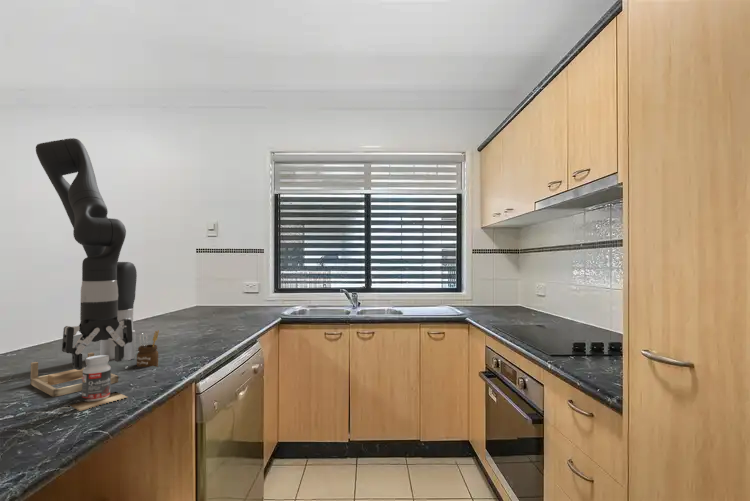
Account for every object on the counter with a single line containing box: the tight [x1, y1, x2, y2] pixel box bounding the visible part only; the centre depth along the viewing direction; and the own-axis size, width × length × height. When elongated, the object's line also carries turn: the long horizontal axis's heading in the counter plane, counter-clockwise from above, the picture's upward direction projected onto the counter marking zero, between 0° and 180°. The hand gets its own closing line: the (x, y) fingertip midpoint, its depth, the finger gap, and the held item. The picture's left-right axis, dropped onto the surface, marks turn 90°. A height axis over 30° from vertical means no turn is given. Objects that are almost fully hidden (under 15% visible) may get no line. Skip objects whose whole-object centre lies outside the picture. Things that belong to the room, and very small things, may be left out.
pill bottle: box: [81, 354, 112, 402], centre depth 96 cm, size 6×6×10 cm
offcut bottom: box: [44, 378, 82, 386], centre depth 107 cm, size 9×4×2 cm, turn 148°
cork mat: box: [68, 391, 129, 412], centre depth 96 cm, size 10×10×1 cm
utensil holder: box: [136, 330, 160, 368], centre depth 123 cm, size 6×6×12 cm
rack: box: [29, 352, 119, 398], centre depth 104 cm, size 14×16×7 cm
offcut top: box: [47, 368, 83, 385], centre depth 107 cm, size 7×3×2 cm, turn 154°
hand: (98, 365), depth 96 cm, fingers open, 8 cm apart
